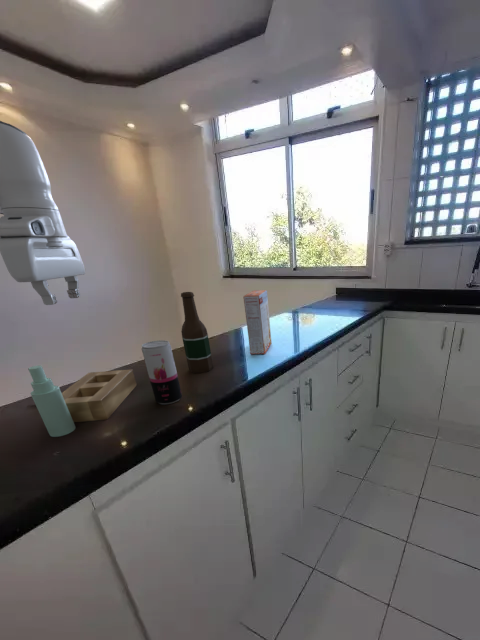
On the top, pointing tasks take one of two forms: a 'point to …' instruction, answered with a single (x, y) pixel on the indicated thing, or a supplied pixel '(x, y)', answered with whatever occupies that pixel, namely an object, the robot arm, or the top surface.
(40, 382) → the bottle
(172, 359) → the beverage can
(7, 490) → the top surface
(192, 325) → the beer bottle
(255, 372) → the top surface
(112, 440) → the top surface
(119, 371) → the bottle stand
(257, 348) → the cracker box
